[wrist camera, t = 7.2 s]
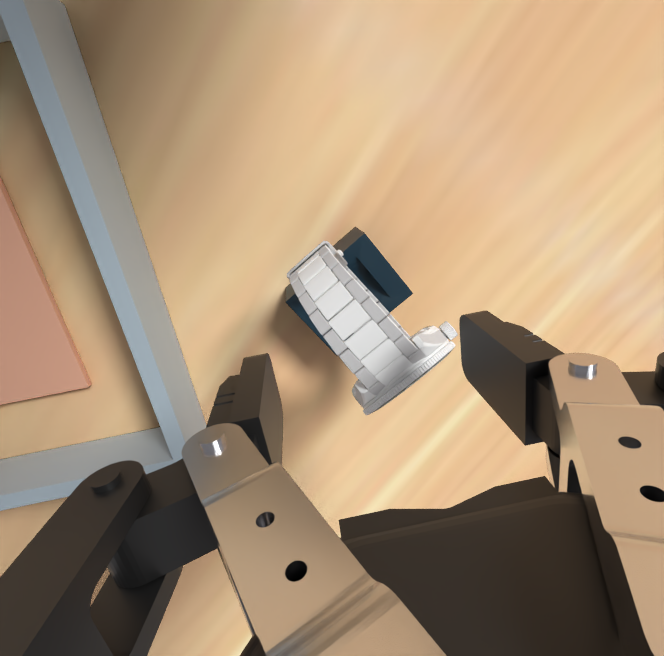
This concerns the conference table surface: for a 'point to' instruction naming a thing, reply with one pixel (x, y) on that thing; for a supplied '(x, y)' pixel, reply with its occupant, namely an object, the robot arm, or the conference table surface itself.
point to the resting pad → (30, 322)
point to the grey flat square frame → (111, 256)
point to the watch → (364, 318)
